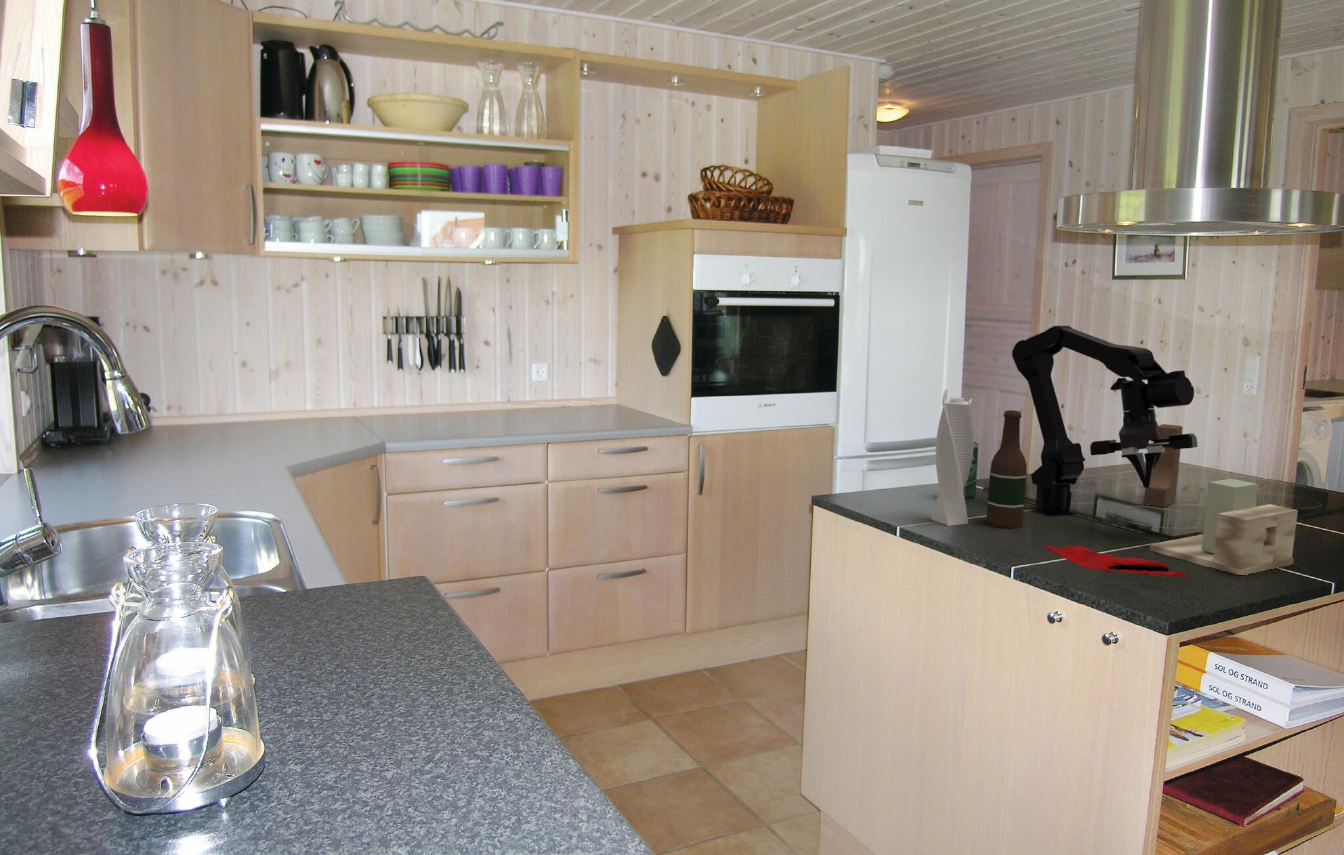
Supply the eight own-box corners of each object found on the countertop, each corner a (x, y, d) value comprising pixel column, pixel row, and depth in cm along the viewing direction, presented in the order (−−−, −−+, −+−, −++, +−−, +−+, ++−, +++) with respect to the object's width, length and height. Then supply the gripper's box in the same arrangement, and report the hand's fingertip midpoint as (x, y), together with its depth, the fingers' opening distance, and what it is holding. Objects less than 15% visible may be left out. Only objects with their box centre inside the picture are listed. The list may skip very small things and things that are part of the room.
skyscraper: (922, 518, 204) (930, 388, 200) (950, 515, 207) (959, 387, 202) (947, 527, 197) (955, 393, 192) (975, 524, 200) (984, 392, 195)
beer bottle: (1030, 524, 201) (1039, 411, 197) (1014, 530, 195) (1023, 415, 191) (994, 517, 206) (1002, 407, 202) (978, 523, 201) (986, 410, 197)
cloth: (1023, 553, 182) (1024, 541, 182) (1067, 543, 189) (1068, 532, 189) (1155, 592, 160) (1156, 579, 160) (1198, 579, 168) (1200, 567, 168)
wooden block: (1164, 508, 217) (1172, 430, 214) (1143, 504, 220) (1150, 427, 217) (1175, 501, 223) (1183, 425, 220) (1154, 498, 226) (1162, 423, 223)
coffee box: (952, 501, 220) (956, 445, 218) (943, 499, 222) (946, 443, 220) (976, 497, 224) (980, 442, 222) (966, 495, 227) (970, 440, 224)
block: (1201, 549, 178) (1208, 482, 176) (1223, 545, 182) (1231, 478, 180) (1249, 562, 171) (1258, 492, 168) (1272, 557, 174) (1280, 488, 172)
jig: (1149, 550, 183) (1155, 498, 181) (1200, 540, 190) (1206, 490, 189) (1241, 576, 168) (1248, 520, 166) (1292, 564, 175) (1299, 510, 174)
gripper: (1078, 415, 191) (1087, 493, 191) (1182, 405, 180) (1191, 488, 179) (1094, 414, 200) (1102, 489, 199) (1193, 405, 188) (1202, 483, 188)
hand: (1147, 487), depth 191 cm, fingers closed
